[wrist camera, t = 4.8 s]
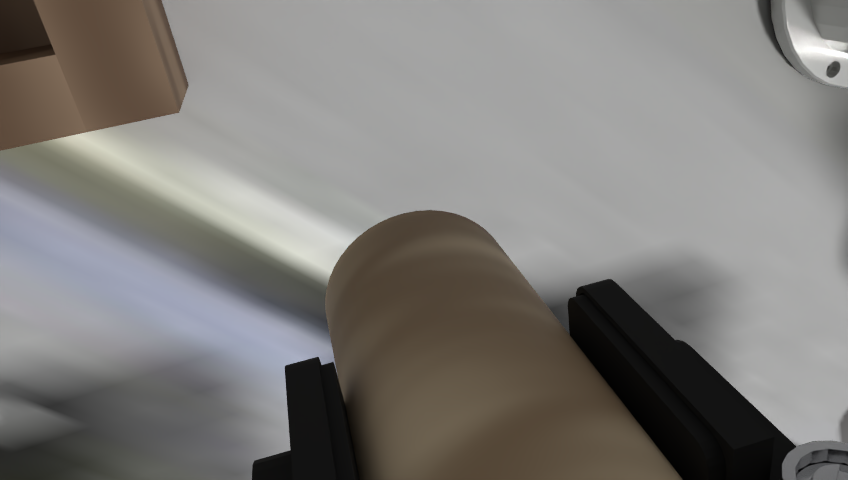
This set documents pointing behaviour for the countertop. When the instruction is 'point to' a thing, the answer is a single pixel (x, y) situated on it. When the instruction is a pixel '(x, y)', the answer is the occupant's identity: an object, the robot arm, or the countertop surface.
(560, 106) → the countertop surface
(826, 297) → the countertop surface
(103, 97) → the bore block
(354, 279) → the pin
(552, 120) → the countertop surface
